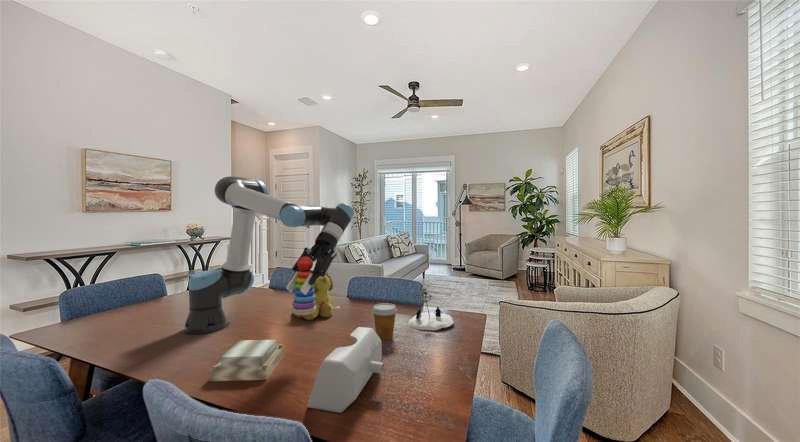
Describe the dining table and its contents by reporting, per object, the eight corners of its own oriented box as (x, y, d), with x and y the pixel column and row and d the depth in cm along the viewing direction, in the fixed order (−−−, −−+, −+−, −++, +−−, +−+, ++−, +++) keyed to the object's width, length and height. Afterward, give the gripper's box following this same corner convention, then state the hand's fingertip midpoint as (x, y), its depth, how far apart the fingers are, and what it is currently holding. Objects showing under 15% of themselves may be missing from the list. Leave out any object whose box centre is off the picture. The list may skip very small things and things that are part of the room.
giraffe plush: (284, 314, 148) (284, 274, 147) (324, 303, 166) (324, 267, 166) (311, 323, 135) (310, 280, 135) (351, 310, 154) (350, 271, 153)
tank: (367, 420, 72) (366, 367, 72) (305, 409, 76) (305, 359, 76) (394, 368, 97) (394, 328, 96) (347, 362, 101) (346, 324, 100)
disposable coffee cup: (400, 334, 123) (400, 304, 123) (390, 343, 114) (389, 311, 114) (379, 330, 127) (379, 301, 127) (367, 339, 118) (367, 308, 118)
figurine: (455, 316, 142) (451, 280, 142) (452, 331, 124) (448, 291, 124) (412, 317, 147) (408, 283, 146) (404, 332, 129) (399, 293, 129)
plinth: (210, 381, 89) (209, 360, 89) (236, 355, 105) (236, 338, 105) (267, 379, 90) (266, 359, 90) (284, 354, 106) (284, 337, 106)
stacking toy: (309, 316, 100) (309, 259, 100) (287, 314, 102) (286, 258, 101) (320, 309, 108) (320, 255, 107) (299, 307, 110) (299, 254, 109)
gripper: (353, 245, 114) (323, 301, 100) (314, 242, 122) (282, 293, 108) (344, 231, 109) (311, 288, 95) (305, 229, 117) (269, 281, 103)
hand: (295, 291), depth 101 cm, fingers closed on stacking toy, 5 cm apart
